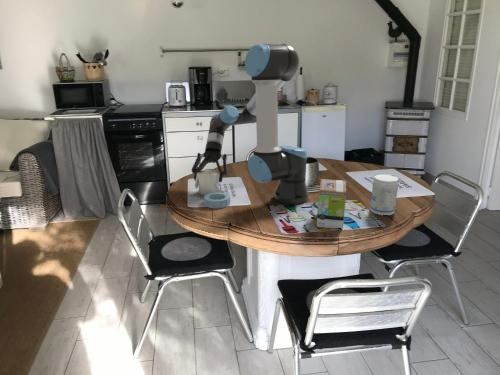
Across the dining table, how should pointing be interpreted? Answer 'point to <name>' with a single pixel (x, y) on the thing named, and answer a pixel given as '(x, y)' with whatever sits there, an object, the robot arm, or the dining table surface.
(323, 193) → the tea box
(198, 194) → the mat
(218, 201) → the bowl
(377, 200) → the supplement tub
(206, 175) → the cover
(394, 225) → the dining table surface
